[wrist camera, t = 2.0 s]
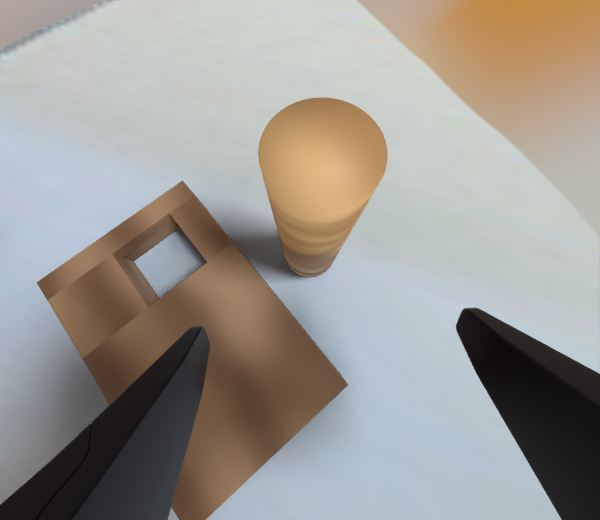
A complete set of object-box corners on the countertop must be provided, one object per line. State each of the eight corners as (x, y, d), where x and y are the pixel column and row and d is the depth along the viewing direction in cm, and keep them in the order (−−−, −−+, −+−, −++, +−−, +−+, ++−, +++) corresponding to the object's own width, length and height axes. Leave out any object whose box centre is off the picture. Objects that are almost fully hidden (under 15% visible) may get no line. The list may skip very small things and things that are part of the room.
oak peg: (306, 289, 21) (316, 237, 7) (276, 254, 21) (232, 144, 8) (341, 259, 21) (414, 157, 8) (311, 226, 22) (328, 77, 8)
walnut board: (204, 504, 17) (188, 535, 15) (67, 286, 21) (36, 282, 18) (342, 376, 19) (348, 385, 17) (195, 195, 23) (182, 180, 20)
